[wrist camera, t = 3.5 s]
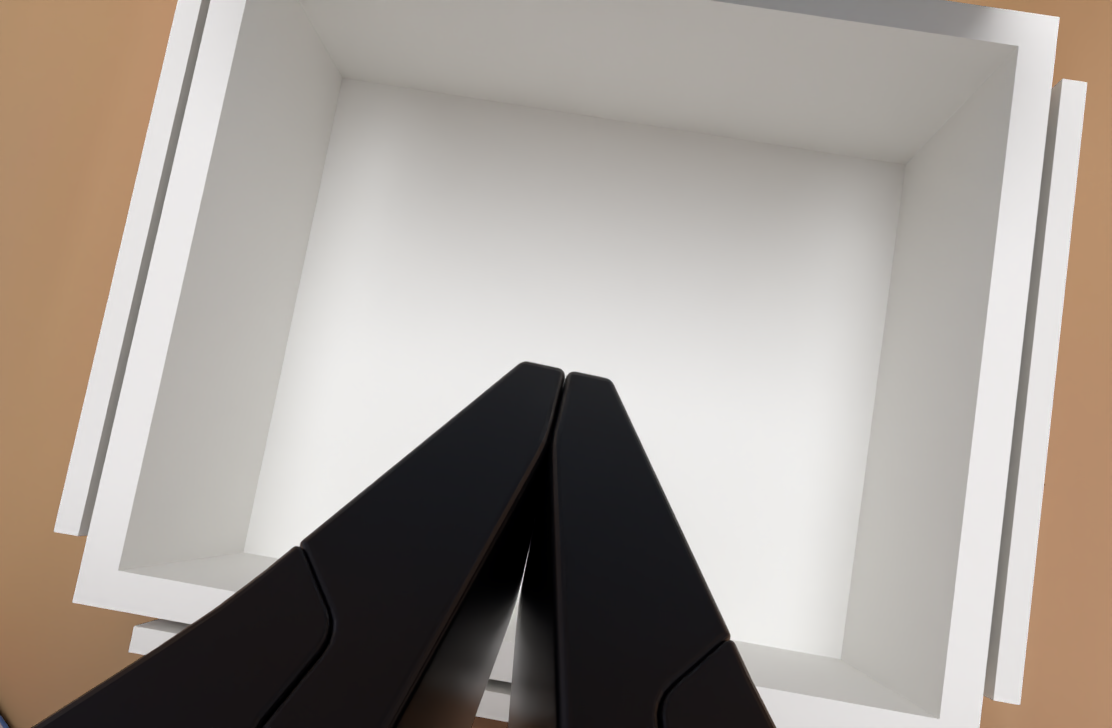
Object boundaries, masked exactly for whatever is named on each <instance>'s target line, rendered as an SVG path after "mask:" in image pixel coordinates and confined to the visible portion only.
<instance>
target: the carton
mask: <svg viewBox="0 0 1112 728" xmlns="http://www.w3.org/2000/svg"><path fill="white" fill-rule="evenodd" d="M1059 18H1060V17H1055V16H1048V15H1041V14H1034V13H1027V12H1021V11H1014V10H1007V9H1000V8H993V7H986V6H979V5H973V4H966V3H959V2H952V1H945V0H178V2H177V7H176V11H175V15H174V19H173V24H172V28H171V32H170V37H169V41H168V45H167V49H166V54H165V58H164V62H163V66H162V71H161V75H160V79H159V84H158V88H157V92H156V96H155V101H154V105H153V109H152V113H151V118H150V122H149V126H148V131H147V135H146V139H145V143H144V148H143V152H142V156H141V160H140V165H139V169H138V173H137V178H136V182H135V186H134V190H133V195H132V199H131V203H130V207H129V212H128V216H127V220H126V225H125V229H124V233H123V237H122V242H121V246H120V250H119V254H118V259H117V263H116V267H115V272H114V276H113V280H112V284H111V289H110V293H109V297H108V301H107V306H106V310H105V314H104V319H103V323H102V327H101V331H100V336H99V340H98V344H97V348H96V353H95V357H94V361H93V366H92V370H91V374H90V378H89V383H88V387H87V391H86V395H85V400H84V404H83V408H82V413H81V417H80V421H79V425H78V430H77V434H76V438H75V442H74V447H73V451H72V455H71V460H70V464H69V468H68V472H67V477H66V481H65V485H64V489H63V494H62V498H61V502H60V507H59V511H58V515H57V519H56V524H55V528H54V532H58V533H64V534H70V535H75V536H86V535H88V536H87V541H86V545H85V549H84V554H83V558H82V562H81V567H80V571H79V575H78V580H77V584H76V589H75V593H74V597H73V602H72V603H78V604H83V605H89V606H94V607H100V608H105V609H111V610H116V611H122V612H127V613H133V614H138V615H143V616H149V617H154V618H160V619H158V620H154V621H151V622H147V623H143V624H140V625H136V626H134V629H133V633H132V638H131V642H130V647H129V651H128V652H131V653H137V654H142V655H146V654H147V653H149V652H151V651H152V650H154V649H155V648H157V647H158V646H160V645H161V644H163V643H164V642H166V641H167V640H169V639H170V638H172V637H173V636H175V635H176V634H177V633H179V632H180V631H182V630H183V629H185V628H186V627H188V626H189V625H191V624H192V623H194V622H195V621H197V620H198V619H200V618H201V617H203V616H204V615H206V614H207V613H209V612H210V611H212V610H213V609H215V608H216V607H217V606H219V605H220V604H221V603H223V602H224V601H225V600H227V599H228V598H229V597H231V596H232V595H233V594H234V593H236V592H237V591H238V590H240V589H241V588H242V587H244V586H245V585H246V584H248V583H249V582H250V581H251V580H253V579H254V578H255V577H257V576H258V575H259V574H261V573H262V572H263V571H265V570H266V569H267V568H268V567H270V566H271V565H272V564H273V563H274V562H276V561H277V560H278V559H279V558H280V557H282V556H283V555H284V554H285V553H286V552H288V551H289V550H290V549H291V548H293V547H294V546H299V547H300V543H301V541H302V540H303V539H304V538H306V537H307V536H308V535H309V534H311V533H312V532H313V531H314V530H315V529H317V528H318V527H319V526H320V525H322V524H323V523H324V522H325V521H326V520H328V519H329V518H330V517H331V516H333V515H334V514H335V513H336V512H338V511H339V510H340V509H341V508H342V507H344V506H345V505H346V504H347V503H349V502H350V501H351V500H352V499H353V498H355V497H356V496H357V495H358V494H360V493H361V492H362V491H363V490H365V489H366V488H367V487H368V486H369V485H371V484H372V483H373V482H374V481H376V480H377V479H378V478H379V477H380V476H382V475H383V474H384V473H385V472H387V471H388V470H389V469H390V468H392V467H393V466H394V465H395V464H396V463H398V462H399V461H400V460H401V459H403V458H404V457H405V456H406V455H407V454H409V453H410V452H411V451H412V450H414V449H415V448H416V447H417V446H418V445H420V444H421V443H422V442H423V441H425V440H426V439H427V438H428V437H430V436H431V435H432V434H433V433H434V432H436V431H437V430H438V429H439V428H441V427H442V426H443V425H444V424H445V423H447V422H448V421H449V420H450V419H452V418H453V417H454V416H455V415H456V414H458V413H459V412H460V411H461V410H463V409H464V408H465V407H466V406H468V405H469V404H470V403H471V402H472V401H474V400H475V399H476V398H477V397H479V396H480V395H481V394H482V393H483V392H485V391H486V390H487V389H488V388H490V387H491V386H492V385H493V384H494V383H496V382H497V381H498V380H499V379H501V378H502V377H503V376H504V375H506V374H507V373H508V372H509V371H510V370H512V369H513V368H514V367H515V366H517V365H518V364H519V363H521V362H524V361H528V362H533V363H538V364H543V365H547V366H552V367H557V368H560V369H562V370H563V371H564V373H565V378H566V376H567V375H568V374H569V373H570V372H572V371H576V372H580V373H585V374H590V375H595V376H600V377H604V378H608V379H610V380H611V381H612V382H613V384H614V386H615V388H616V390H617V392H618V394H619V396H620V399H621V401H622V403H623V405H624V407H625V409H626V411H627V413H628V416H629V418H630V420H631V422H632V424H633V426H634V428H635V431H636V433H637V435H638V437H639V439H640V441H641V443H642V446H643V448H644V450H645V452H646V454H647V456H648V458H649V461H650V463H651V465H652V467H653V469H654V471H655V473H656V476H657V478H658V480H659V482H660V484H661V486H662V488H663V491H664V493H665V495H666V497H667V499H668V501H669V503H670V506H671V508H672V510H673V512H674V514H675V516H676V518H677V521H678V523H679V525H680V527H681V529H682V531H683V533H684V536H685V538H686V540H687V542H688V544H689V546H690V548H691V551H692V553H693V555H694V557H695V559H696V561H697V563H698V566H699V568H700V570H701V572H702V574H703V576H704V578H705V581H706V583H707V585H708V587H709V589H710V591H711V593H712V596H713V598H714V600H715V602H716V604H717V606H718V608H719V611H720V613H721V615H722V617H723V619H724V621H725V623H726V626H727V628H728V630H729V632H730V635H731V637H730V640H732V641H733V642H735V644H736V646H737V648H738V650H739V653H740V655H741V657H742V659H743V661H744V664H745V666H746V668H747V670H748V672H749V674H750V677H751V679H752V681H753V683H754V685H755V687H756V689H757V691H758V693H759V695H760V696H761V698H762V700H763V702H764V704H765V706H766V708H767V710H768V712H769V714H770V716H771V718H772V720H773V722H774V724H775V726H776V728H980V719H981V710H982V701H983V696H986V697H988V698H990V699H992V700H994V701H1000V702H1006V703H1011V704H1017V705H1020V701H1021V692H1022V683H1023V673H1024V664H1025V655H1026V646H1027V636H1028V627H1029V618H1030V609H1031V599H1032V590H1033V581H1034V571H1035V562H1036V553H1037V544H1038V534H1039V525H1040V516H1041V507H1042V497H1043V488H1044V479H1045V469H1046V460H1047V451H1048V442H1049V432H1050V423H1051V414H1052V405H1053V395H1054V386H1055V377H1056V367H1057V358H1058V349H1059V340H1060V330H1061V321H1062V312H1063V303H1064V293H1065V284H1066V275H1067V265H1068V256H1069V247H1070V238H1071V228H1072V219H1073V210H1074V201H1075V191H1076V182H1077V173H1078V164H1079V154H1080V145H1081V136H1082V126H1083V117H1084V108H1085V99H1086V89H1087V82H1081V81H1075V80H1068V79H1062V80H1061V81H1059V82H1058V83H1057V84H1056V85H1055V86H1054V87H1053V88H1052V80H1053V71H1054V62H1055V53H1056V44H1057V35H1058V26H1059ZM564 382H565V381H564ZM528 552H529V551H528ZM527 557H528V556H527ZM526 562H527V560H526ZM525 567H526V565H525ZM524 572H525V569H524ZM523 577H524V574H523ZM522 582H523V578H522ZM522 582H521V586H520V590H519V594H518V598H517V601H516V604H515V607H514V610H513V613H512V616H511V619H510V623H509V625H508V628H507V631H506V634H505V636H504V639H503V642H502V644H501V647H500V650H499V653H498V655H497V658H496V661H495V664H494V666H493V669H492V672H491V675H490V677H489V680H488V683H487V686H486V688H485V691H484V694H483V697H482V699H481V702H480V705H479V707H478V710H477V713H476V716H477V717H483V718H488V719H494V720H499V721H504V722H508V720H509V708H510V695H511V683H512V671H513V659H514V647H515V635H516V623H517V615H518V606H519V598H520V593H521V587H522Z"/></svg>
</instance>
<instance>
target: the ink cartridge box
mask: <svg viewBox="0 0 1112 728" xmlns="http://www.w3.org/2000/svg"><path fill="white" fill-rule="evenodd" d="M0 728H9V727H8V725H7V724H6V722H5V721H4V719H3V718H2V716H1V715H0Z"/></svg>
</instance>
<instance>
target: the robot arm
mask: <svg viewBox="0 0 1112 728" xmlns="http://www.w3.org/2000/svg"><path fill="white" fill-rule="evenodd" d="M564 381H565V382H564ZM528 551H529V552H528ZM527 556H528V557H527ZM526 560H527V562H526ZM525 565H526V567H525ZM524 569H525V572H524ZM523 574H524V577H523ZM522 578H523V582H522ZM521 582H522V587H521V593H520V598H519V606H518V615H517V623H516V635H515V647H514V659H513V671H512V683H511V695H510V708H509V720H508V728H776V726H775V724H774V722H773V720H772V718H771V716H770V714H769V712H768V710H767V708H766V706H765V704H764V702H763V700H762V698H761V696H760V695H759V693H758V691H757V689H756V687H755V685H754V683H753V681H752V679H751V677H750V674H749V672H748V670H747V668H746V666H745V664H744V661H743V659H742V657H741V655H740V653H739V650H738V648H737V646H736V644H735V642H733V641H732V640H730V637H731V635H730V632H729V630H728V628H727V626H726V623H725V621H724V619H723V617H722V615H721V613H720V611H719V608H718V606H717V604H716V602H715V600H714V598H713V596H712V593H711V591H710V589H709V587H708V585H707V583H706V581H705V578H704V576H703V574H702V572H701V570H700V568H699V566H698V563H697V561H696V559H695V557H694V555H693V553H692V551H691V548H690V546H689V544H688V542H687V540H686V538H685V536H684V533H683V531H682V529H681V527H680V525H679V523H678V521H677V518H676V516H675V514H674V512H673V510H672V508H671V506H670V503H669V501H668V499H667V497H666V495H665V493H664V491H663V488H662V486H661V484H660V482H659V480H658V478H657V476H656V473H655V471H654V469H653V467H652V465H651V463H650V461H649V458H648V456H647V454H646V452H645V450H644V448H643V446H642V443H641V441H640V439H639V437H638V435H637V433H636V431H635V428H634V426H633V424H632V422H631V420H630V418H629V416H628V413H627V411H626V409H625V407H624V405H623V403H622V401H621V399H620V396H619V394H618V392H617V390H616V388H615V386H614V384H613V382H612V381H611V380H610V379H608V378H604V377H600V376H595V375H590V374H585V373H580V372H576V371H572V372H570V373H569V374H568V375H567V376H566V378H565V373H564V371H563V370H562V369H560V368H557V367H552V366H547V365H543V364H538V363H533V362H528V361H524V362H521V363H519V364H518V365H517V366H515V367H514V368H513V369H512V370H510V371H509V372H508V373H507V374H506V375H504V376H503V377H502V378H501V379H499V380H498V381H497V382H496V383H494V384H493V385H492V386H491V387H490V388H488V389H487V390H486V391H485V392H483V393H482V394H481V395H480V396H479V397H477V398H476V399H475V400H474V401H472V402H471V403H470V404H469V405H468V406H466V407H465V408H464V409H463V410H461V411H460V412H459V413H458V414H456V415H455V416H454V417H453V418H452V419H450V420H449V421H448V422H447V423H445V424H444V425H443V426H442V427H441V428H439V429H438V430H437V431H436V432H434V433H433V434H432V435H431V436H430V437H428V438H427V439H426V440H425V441H423V442H422V443H421V444H420V445H418V446H417V447H416V448H415V449H414V450H412V451H411V452H410V453H409V454H407V455H406V456H405V457H404V458H403V459H401V460H400V461H399V462H398V463H396V464H395V465H394V466H393V467H392V468H390V469H389V470H388V471H387V472H385V473H384V474H383V475H382V476H380V477H379V478H378V479H377V480H376V481H374V482H373V483H372V484H371V485H369V486H368V487H367V488H366V489H365V490H363V491H362V492H361V493H360V494H358V495H357V496H356V497H355V498H353V499H352V500H351V501H350V502H349V503H347V504H346V505H345V506H344V507H342V508H341V509H340V510H339V511H338V512H336V513H335V514H334V515H333V516H331V517H330V518H329V519H328V520H326V521H325V522H324V523H323V524H322V525H320V526H319V527H318V528H317V529H315V530H314V531H313V532H312V533H311V534H309V535H308V536H307V537H306V538H304V539H303V540H302V541H301V543H300V547H299V546H294V547H293V548H291V549H290V550H289V551H288V552H286V553H285V554H284V555H283V556H282V557H280V558H279V559H278V560H277V561H276V562H274V563H273V564H272V565H271V566H270V567H268V568H267V569H266V570H265V571H263V572H262V573H261V574H259V575H258V576H257V577H255V578H254V579H253V580H251V581H250V582H249V583H248V584H246V585H245V586H244V587H242V588H241V589H240V590H238V591H237V592H236V593H234V594H233V595H232V596H231V597H229V598H228V599H227V600H225V601H224V602H223V603H221V604H220V605H219V606H217V607H216V608H215V609H213V610H212V611H210V612H209V613H207V614H206V615H204V616H203V617H201V618H200V619H198V620H197V621H195V622H194V623H192V624H191V625H189V626H188V627H186V628H185V629H183V630H182V631H180V632H179V633H177V634H176V635H175V636H173V637H172V638H170V639H169V640H167V641H166V642H164V643H163V644H161V645H160V646H158V647H157V648H155V649H154V650H152V651H151V652H149V653H147V654H146V655H144V656H143V657H141V658H140V659H138V660H136V661H135V662H133V663H132V664H130V665H129V666H127V667H125V668H124V669H122V670H121V671H119V672H118V673H116V674H115V675H113V676H111V677H110V678H108V679H107V680H105V681H104V682H102V683H100V684H99V685H97V686H96V687H94V688H93V689H91V690H89V691H88V692H86V693H85V694H83V695H82V696H80V697H79V698H77V699H75V700H74V701H72V702H71V703H69V704H68V705H66V706H64V707H63V708H61V709H60V710H58V711H57V712H55V713H54V714H52V715H50V716H49V717H47V718H46V719H44V720H43V721H41V722H39V723H38V724H36V725H35V726H33V727H32V728H471V727H472V724H473V721H474V718H475V716H476V713H477V710H478V707H479V705H480V702H481V699H482V697H483V694H484V691H485V688H486V686H487V683H488V680H489V677H490V675H491V672H492V669H493V666H494V664H495V661H496V658H497V655H498V653H499V650H500V647H501V644H502V642H503V639H504V636H505V634H506V631H507V628H508V625H509V623H510V619H511V616H512V613H513V610H514V607H515V604H516V601H517V598H518V594H519V590H520V586H521Z"/></svg>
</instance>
